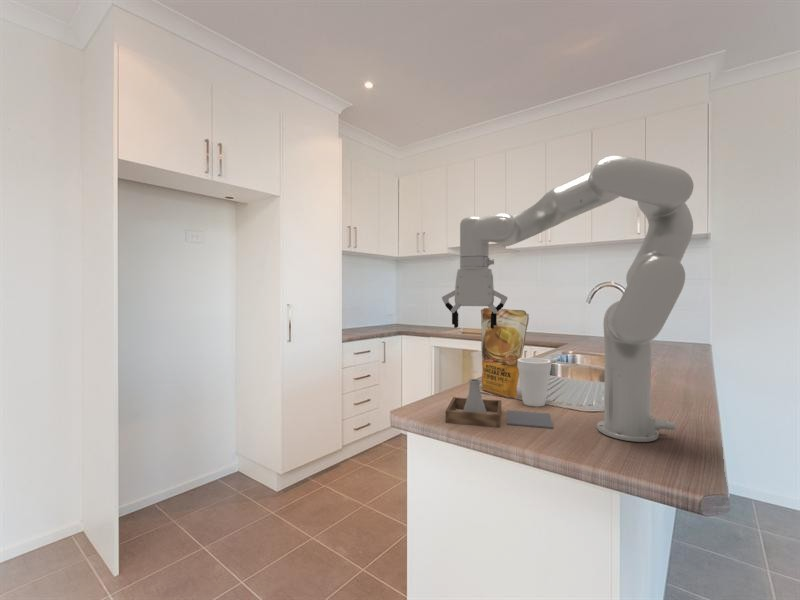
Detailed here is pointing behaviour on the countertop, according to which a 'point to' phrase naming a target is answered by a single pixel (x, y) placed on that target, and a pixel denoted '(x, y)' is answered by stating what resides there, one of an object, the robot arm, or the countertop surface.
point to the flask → (474, 398)
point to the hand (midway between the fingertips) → (474, 327)
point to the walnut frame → (474, 413)
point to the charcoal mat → (529, 419)
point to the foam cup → (534, 380)
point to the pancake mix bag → (502, 350)
